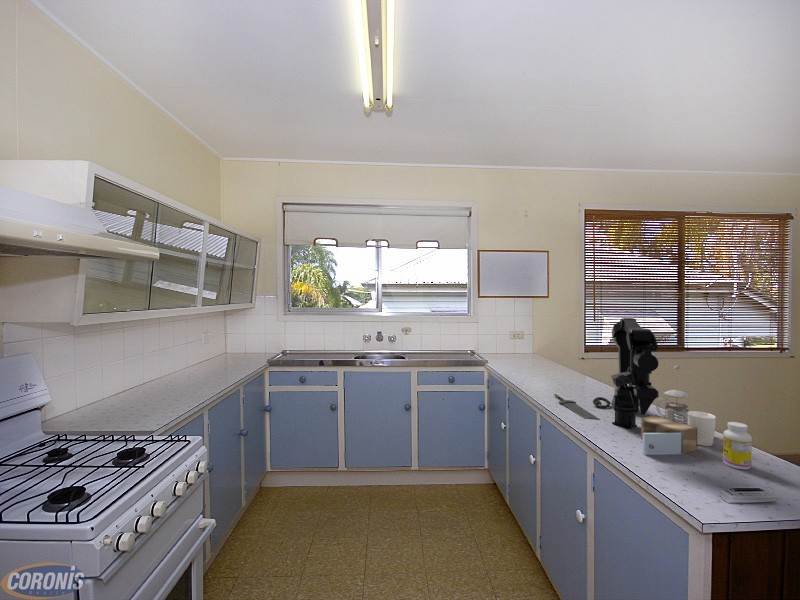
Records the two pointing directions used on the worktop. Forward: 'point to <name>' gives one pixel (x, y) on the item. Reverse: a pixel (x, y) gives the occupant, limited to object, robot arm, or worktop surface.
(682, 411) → the french press
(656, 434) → the door
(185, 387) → the worktop surface
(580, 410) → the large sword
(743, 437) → the supplement bottle
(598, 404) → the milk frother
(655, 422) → the cabinet
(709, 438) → the white cup
